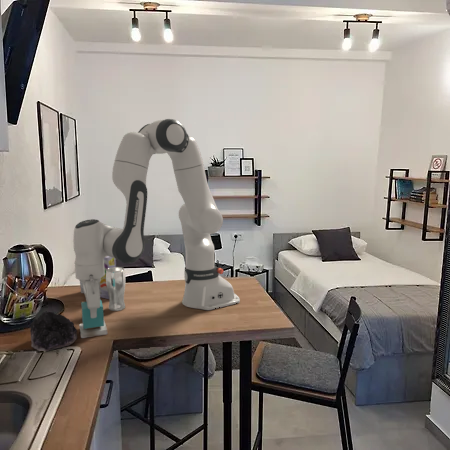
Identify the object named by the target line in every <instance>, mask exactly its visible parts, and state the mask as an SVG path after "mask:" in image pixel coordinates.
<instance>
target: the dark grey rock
mask: <svg viewBox="0 0 450 450" xmlns="http://www.w3.org/2000/svg"><path fill="white" fill-rule="evenodd" d="M29 332H30V340H31V345H30V346H31V348H33V349H34V350H37V351H39V352H40V351H46V352H49V350H50V351H53V350H57V349H60V348H64V347H68V346H70V345H72V344H73V343H75V341H76V340H77V339H78V335H77V333H78V330H77V328H76V326H75V323H74V322H73V321H71V320H70V319H69V318H67V316H64V315H63V314H57V313H56V312H54V311H44V312H42V313H41V315H39V317H38V318H37V319H34V320H33V321H32V322H31V324H30V331H29Z"/></svg>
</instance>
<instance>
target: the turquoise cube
mask: <svg viewBox="0 0 450 450" xmlns="http://www.w3.org/2000/svg"><path fill="white" fill-rule="evenodd" d="M80 304H81V321H82V324H83V328H84V329H86V328H93V327H100V326H104V321H105V319H104V317H105V316H104V315H105V314H104V305H103V301H102V300H101V299H100V308H97V317H96V318H91V316H90V309H88V306H87V302H86V301H81V303H80Z"/></svg>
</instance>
